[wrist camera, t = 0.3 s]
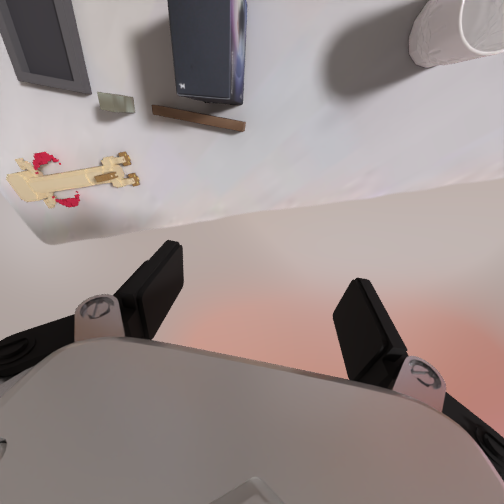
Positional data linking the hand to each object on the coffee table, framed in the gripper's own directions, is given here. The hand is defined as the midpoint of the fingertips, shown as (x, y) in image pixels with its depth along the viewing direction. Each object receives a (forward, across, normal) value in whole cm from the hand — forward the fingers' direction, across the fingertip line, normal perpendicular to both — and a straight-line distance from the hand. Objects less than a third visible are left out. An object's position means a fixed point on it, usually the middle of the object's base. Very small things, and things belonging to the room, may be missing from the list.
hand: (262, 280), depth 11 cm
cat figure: (+30, +38, +8) cm, 49 cm away
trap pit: (+29, +36, -13) cm, 48 cm away
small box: (+29, +10, -13) cm, 34 cm away
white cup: (+29, -16, -19) cm, 38 cm away
